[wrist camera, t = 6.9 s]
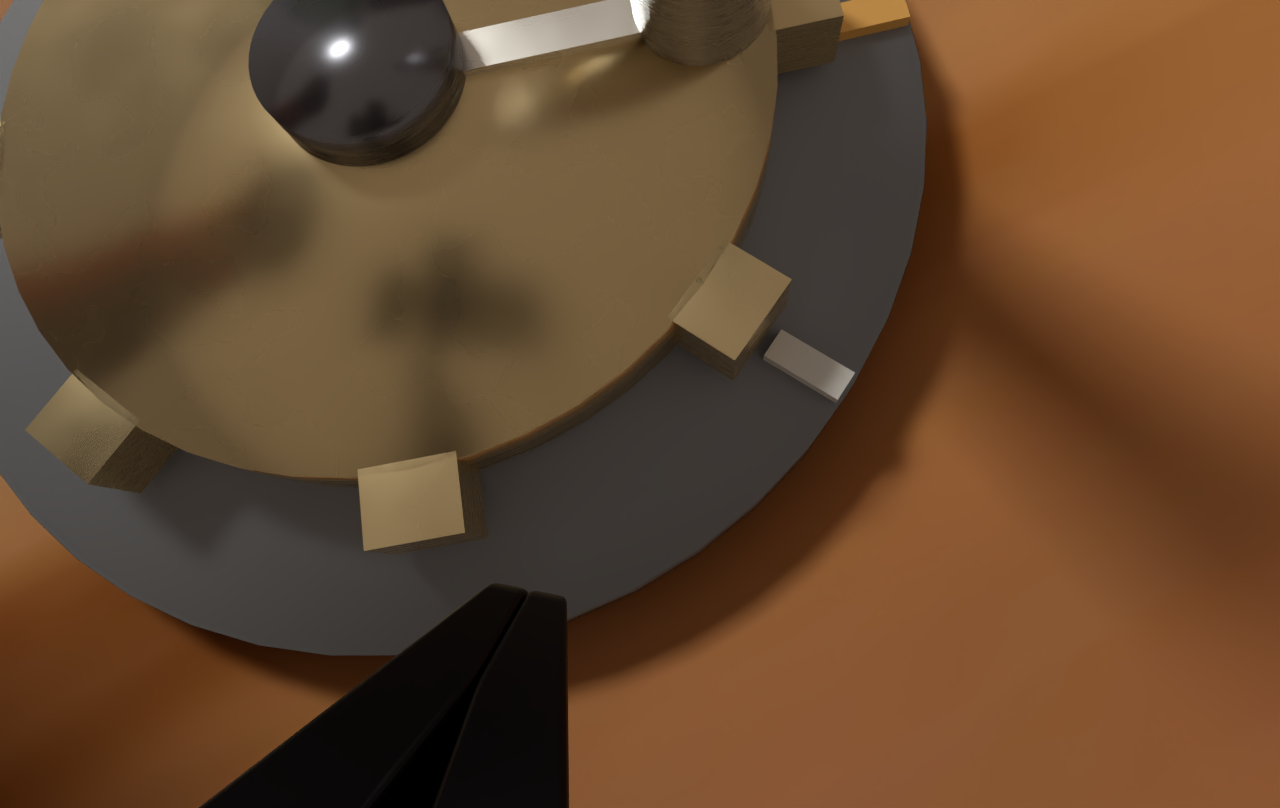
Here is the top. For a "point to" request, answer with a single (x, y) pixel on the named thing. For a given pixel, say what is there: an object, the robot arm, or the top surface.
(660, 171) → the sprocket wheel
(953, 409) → the top surface
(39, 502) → the base plate
